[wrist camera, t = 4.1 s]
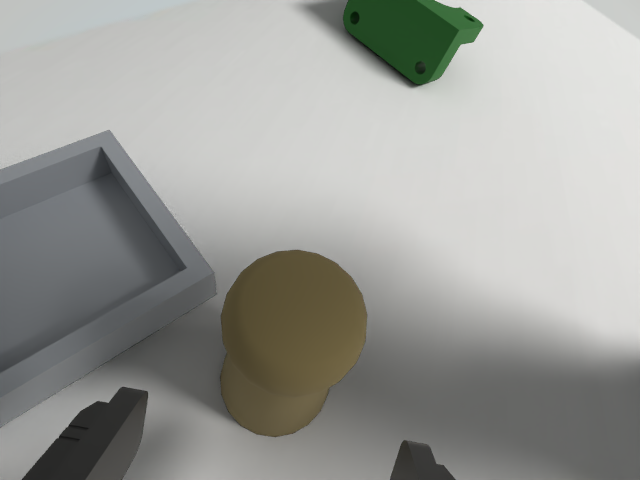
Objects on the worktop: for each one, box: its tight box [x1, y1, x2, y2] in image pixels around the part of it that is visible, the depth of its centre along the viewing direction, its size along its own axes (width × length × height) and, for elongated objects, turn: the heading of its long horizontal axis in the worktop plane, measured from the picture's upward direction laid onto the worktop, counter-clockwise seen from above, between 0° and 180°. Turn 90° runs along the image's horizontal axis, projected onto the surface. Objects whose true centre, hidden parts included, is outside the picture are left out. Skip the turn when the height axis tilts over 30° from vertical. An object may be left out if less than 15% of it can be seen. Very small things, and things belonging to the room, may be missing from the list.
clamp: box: [343, 0, 483, 84], centre depth 38 cm, size 12×6×9 cm, turn 38°
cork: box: [220, 250, 367, 437], centre depth 18 cm, size 6×6×11 cm
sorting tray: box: [0, 130, 217, 427], centre depth 22 cm, size 12×12×3 cm
